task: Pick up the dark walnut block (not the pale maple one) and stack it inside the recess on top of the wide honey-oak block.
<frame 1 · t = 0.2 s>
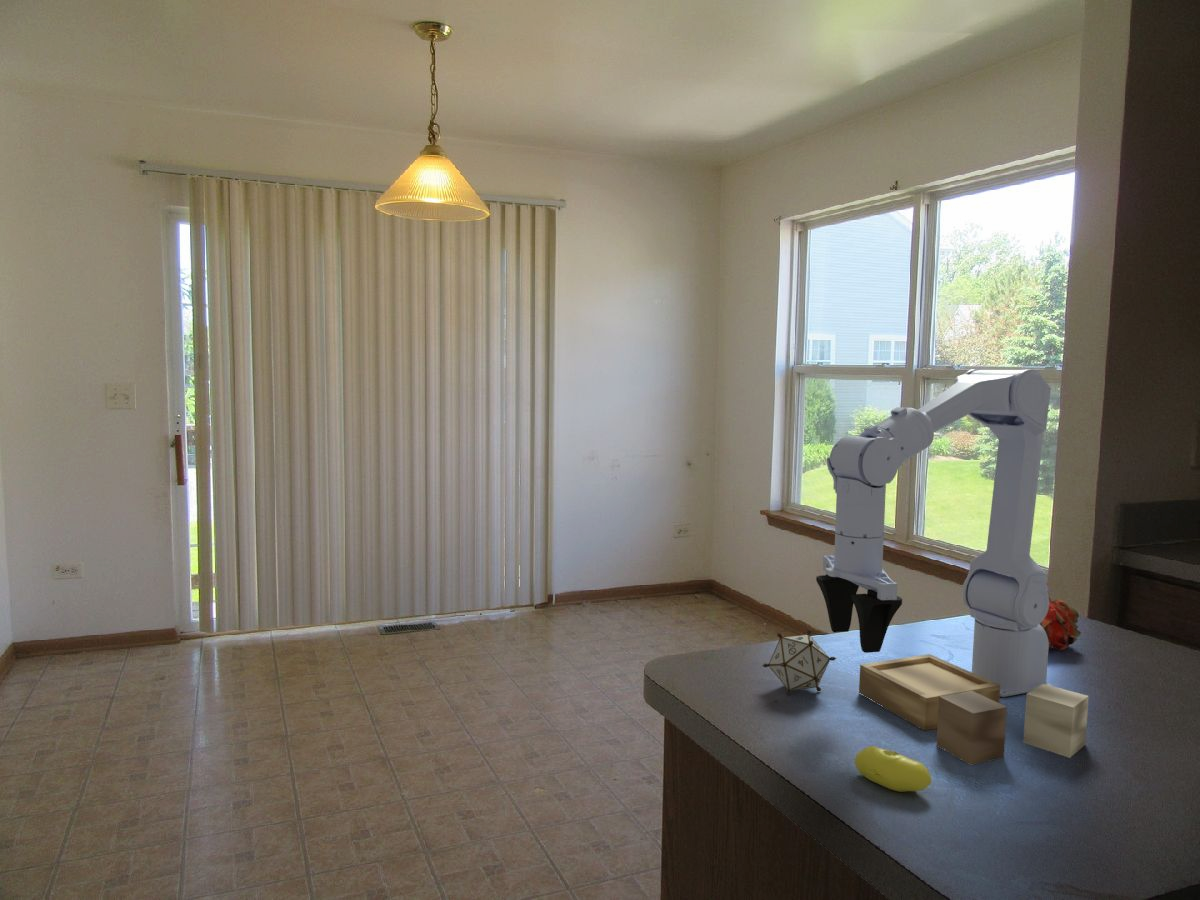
hand: (854, 640, 101), 10 cm above the kitchen counter, tool pointing down, fingers open, 7 cm apart
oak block: (926, 704, 106), on the kitchen counter
maple cube: (1054, 744, 95), on the kitchen counter
game die: (797, 691, 111), on the kitchen counter
yellow oval lump: (890, 788, 85), on the kitchen counter
walnut cube: (969, 751, 93), on the kitchen counter
dragon fruit: (1046, 648, 129), on the kitchen counter
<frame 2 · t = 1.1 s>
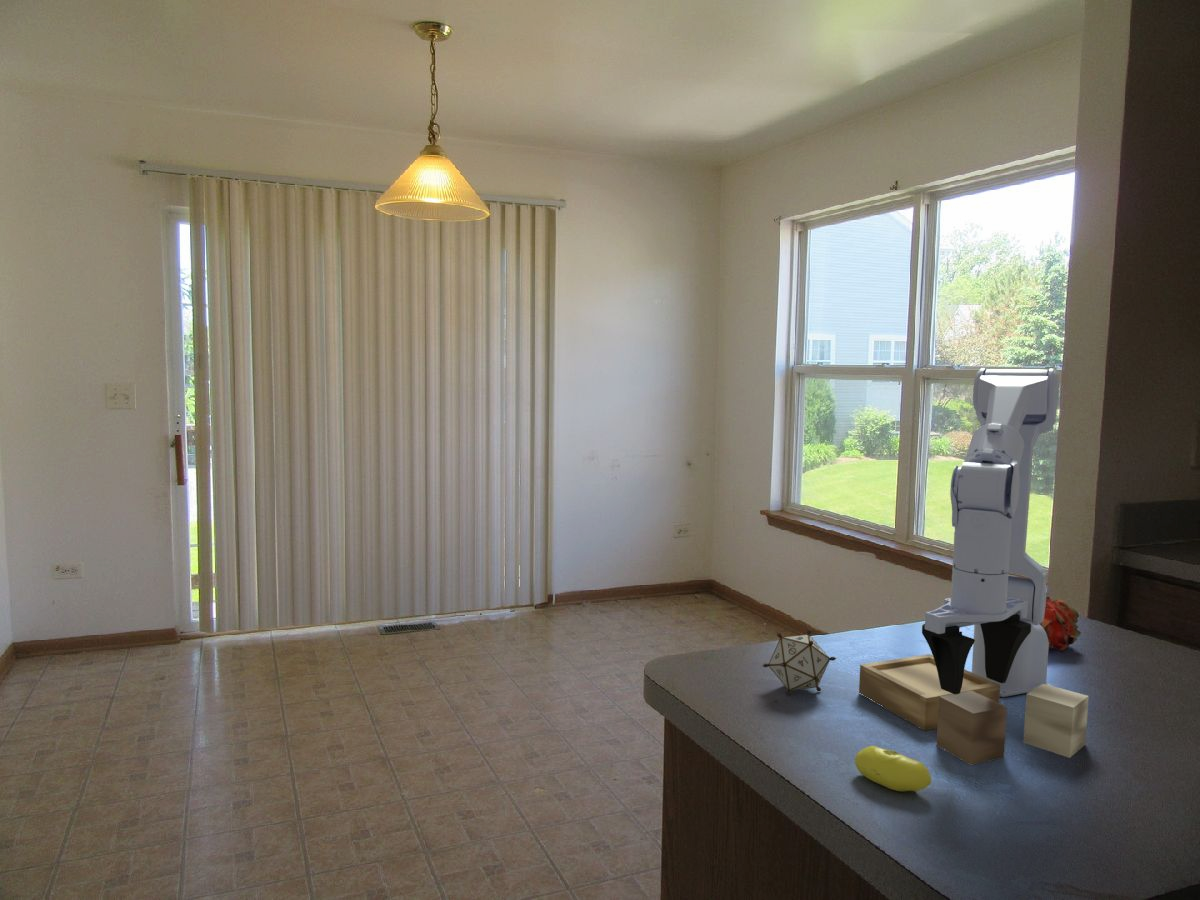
hand: (973, 685, 92), 8 cm above the kitchen counter, tool pointing down, fingers open, 7 cm apart
nothing on the kitchen counter moved.
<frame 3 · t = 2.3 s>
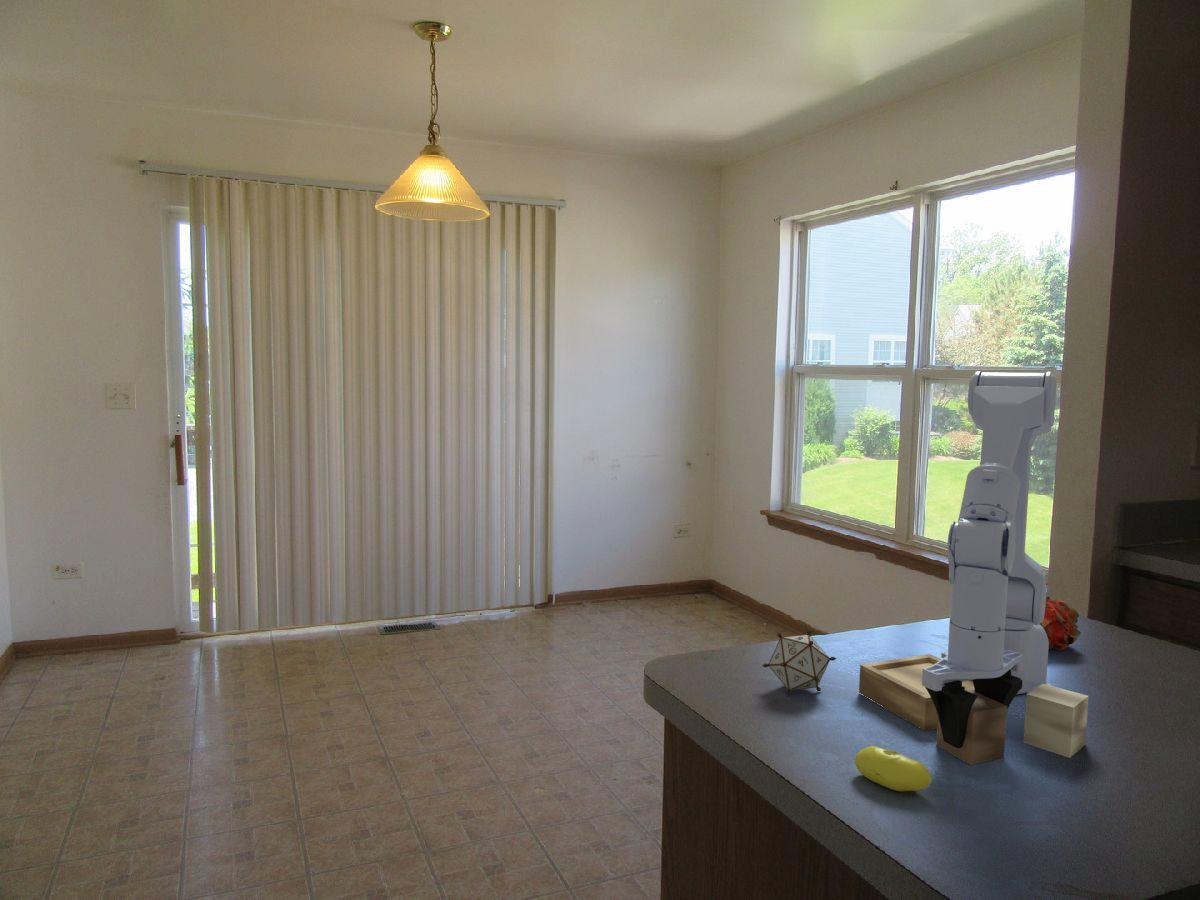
hand: (970, 739, 93), 1 cm above the kitchen counter, tool pointing down, fingers closed on walnut cube, 5 cm apart
walnut cube: (969, 751, 93), on the kitchen counter, touching gripper
everything else where it was.
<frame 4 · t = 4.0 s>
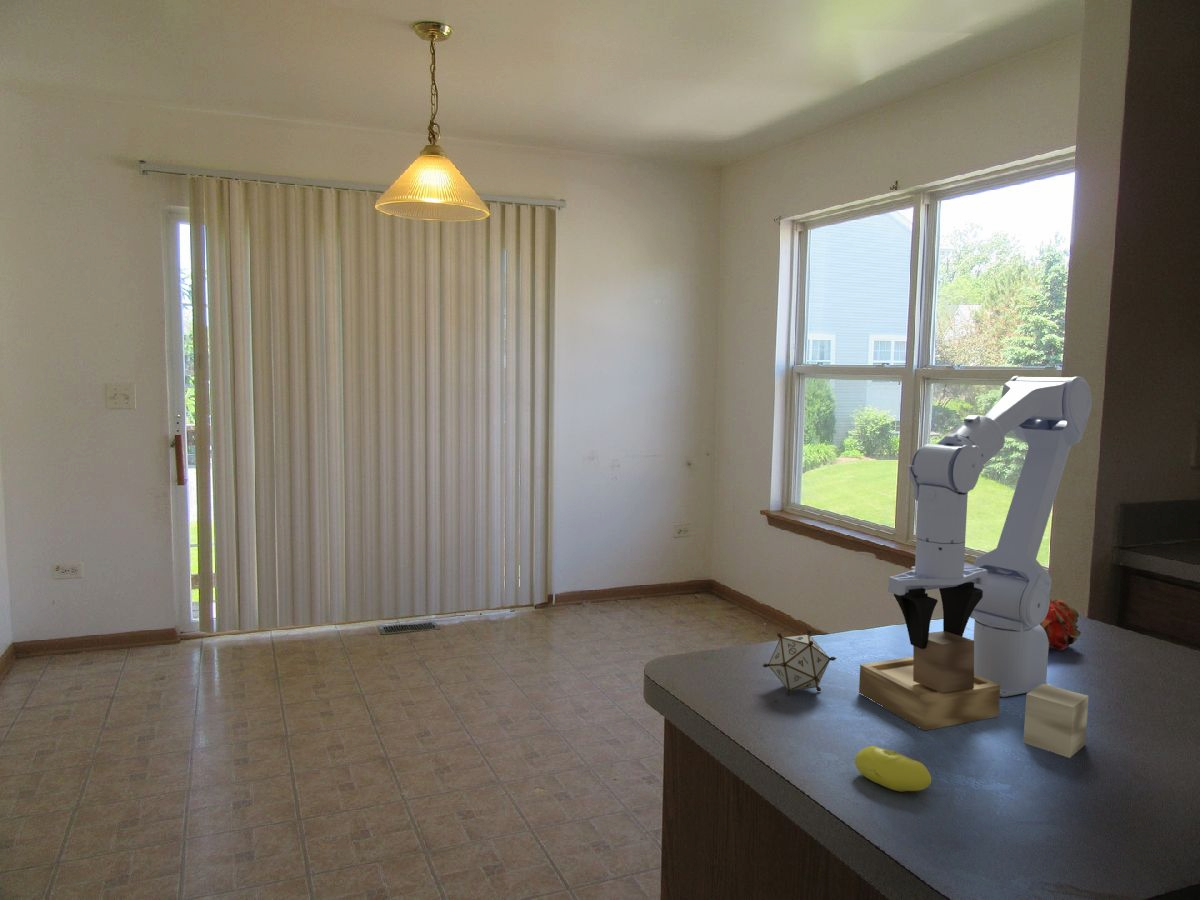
hand: (935, 643, 104), 9 cm above the kitchen counter, tool pointing down, fingers closed on walnut cube, 5 cm apart
walnut cube: (943, 684, 102), point 4 cm above the kitchen counter, touching gripper
everything else where it was.
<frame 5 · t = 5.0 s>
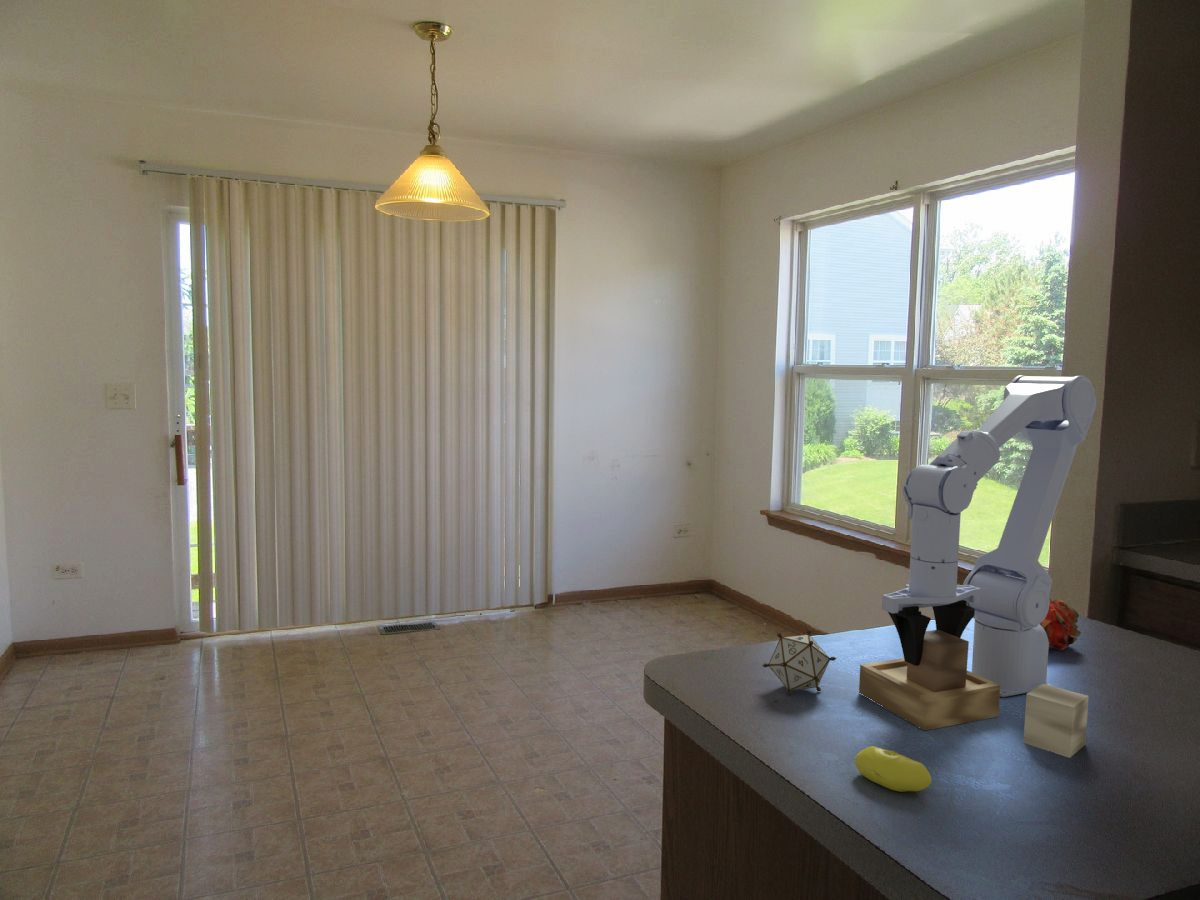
hand: (928, 660, 105), 6 cm above the kitchen counter, tool pointing down, fingers closed on walnut cube, 5 cm apart
walnut cube: (935, 682, 104), point 4 cm above the kitchen counter, touching gripper
everything else where it was.
when the fingers open (6 cm above the kitchen counter, at t = 5.2 s): walnut cube stays where it is, resting on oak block.
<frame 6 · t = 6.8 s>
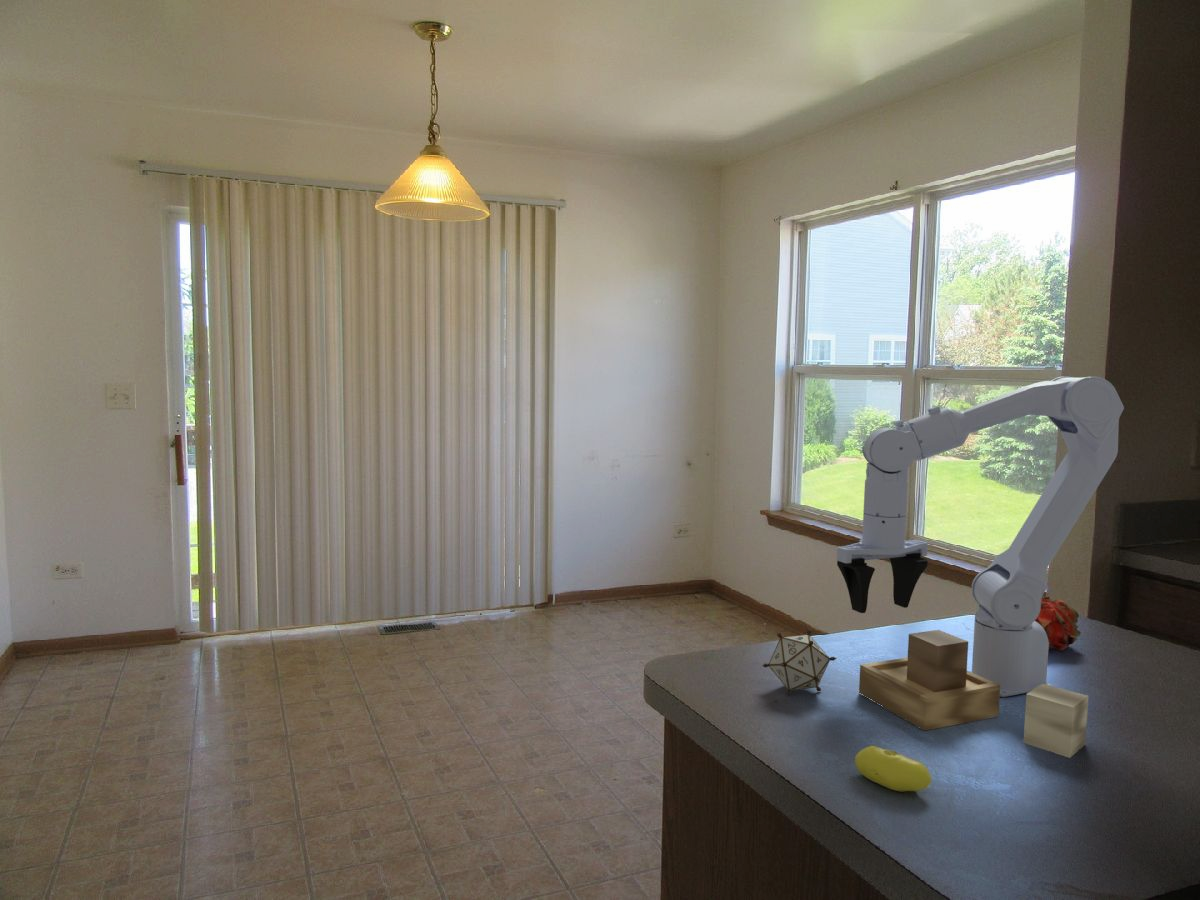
hand: (880, 608, 115), 10 cm above the kitchen counter, tool pointing down, fingers open, 7 cm apart
walnut cube: (935, 682, 104), point 3 cm above the kitchen counter, touching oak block
everything else where it was.
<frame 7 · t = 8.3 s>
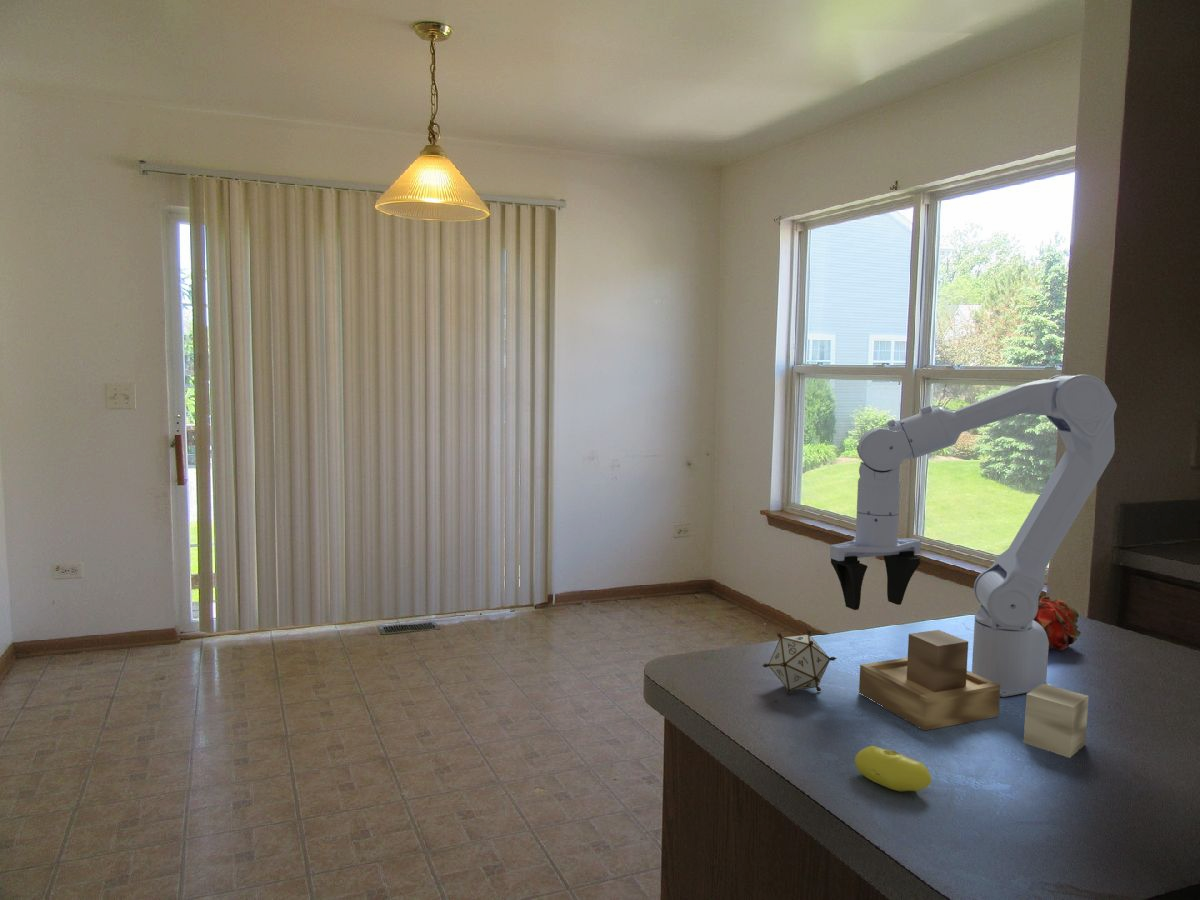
hand: (873, 605, 117), 10 cm above the kitchen counter, tool pointing down, fingers open, 7 cm apart
nothing on the kitchen counter moved.
at the end: walnut cube inside the target area on the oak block (1.4 cm from its centre), point 3.5 cm above the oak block's base; walnut cube tilted 0°; maple cube moved 0.1 cm from its start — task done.
